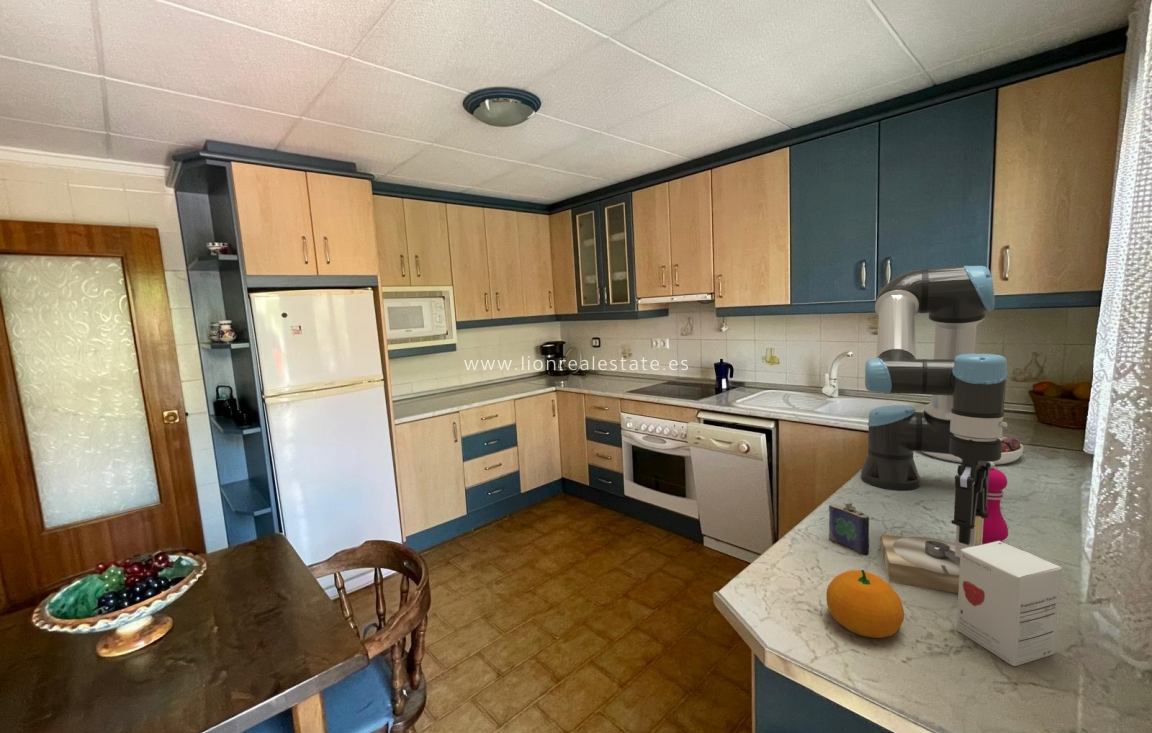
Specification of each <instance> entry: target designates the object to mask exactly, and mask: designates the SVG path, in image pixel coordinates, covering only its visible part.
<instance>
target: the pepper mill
mask: <svg viewBox="0 0 1152 733" xmlns="http://www.w3.org/2000/svg"><path fill="white" fill-rule="evenodd" d="M990 464H991V467H990V471H989V483H988V498H987V511H986V512H985V511H984V513H987V514H989V518H988V519H987V518H983V517H981V518H982V519H984V521H983V537H982V545H983V544H988V543H992V542H996V541H1001V542H1003V543H1005V542H1004V541H1005V540H1006V539H1007V538H1008V537H1009V527H1008V525H1007V523H1006V521H1005V519H1004V516H1003V514H1002V511H1001V500H1002V499H1004V493H1005V492H1004V491H1003V490H1004V489H1006V487H1007V485H1008V478H1007V476H1006V474H1005V473H1004V472H1002V471H1001V470H999V469H997V468H995V467H996V465H995V464H994V463H993V462H990Z"/></svg>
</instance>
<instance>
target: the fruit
mask: <svg viewBox="0 0 1152 733" xmlns="http://www.w3.org/2000/svg"><path fill="white" fill-rule="evenodd" d="M826 606H827V608H828V610H829V612H830V613H831V616H832V617H833V618H834V620H835V621H836V622H837V623H839V624H840V625H841V626H842V627H844V628H845V629H847V630H848V631H851V632H852V633H854V634H857V635H860V636H862V637H867V638H875V639H877V638H878V639H881V638H888V637H890V636H892V635H894V634H896V633H897V632H899V630H900V629H901V626H902V624H903V623H904V621H905V620H904V619H905V610H904V607H903V603H902V599H901V598H900V596H899V594H898V593H897V592H896V591H895V589H894V588H893V587H892V586H891V585H890V584H889V583H888V582H887V581H886V580H884V579H883V578H881V576H878V575H877V574H874V573H872V572H869V571H865V570H864V569H861V570H856V569H853V570H846V571H844V572H841V573H839V574H837V575H836V576H835V577H833V579H831V581H830V582H829V584H828V585H827V588H826Z"/></svg>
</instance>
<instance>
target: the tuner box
mask: <svg viewBox="0 0 1152 733" xmlns="http://www.w3.org/2000/svg"><path fill="white" fill-rule="evenodd" d="M927 541H937V542H941V543H944V544H946V545H948V546H949V547H950V550H952V551H954V552H955V549H956V543H954V542H951V541H946V540H943V539H938V538H934V537H925V536H901V535H893V534H886V533H880V545H879V546H880V553H881V558H882V562H883V564H884V565H883V566H884V568H885V571H886V574H887V578H888V582H889V583H891V582H892V583H897V584H902V585H909V586H915V587H920V588H927V589H932V590H937V591H942V592H949V593H955V594H958V593H959V572H960V563H959V562H957V561H955V560H953V559H951V558H947V559H940V558H935V557H932V556H930V555H928V554H927V553H926V552H925V543H926V542H927Z"/></svg>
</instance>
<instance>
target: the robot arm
mask: <svg viewBox="0 0 1152 733" xmlns="http://www.w3.org/2000/svg"><path fill="white" fill-rule="evenodd" d="M995 301H996V298H995V289H994V283H993V278H992V273H991V270H990V269H989V268H988V267H987V266H984V265H960V266H950V267H949V266H948V267H940V268H930V269H915V270H910V271H907V272H905V273H902V274H900V275H897V277H894V278H893V279H891V280H890V281H889V282H888V283H886V284H885V285H884V286H883V288H882V289H881V290H880V291H879V292H878V294H877V296H876V299H875V303H874V311H875V313H876V315H877V316H878V323H877V324H878V325H877V326H878V327H877V328H878V329H877V344H876V358H869V359H867V360H866V362H865V365H864V366H865V368H864V371H865V372H864V385H865V386H864V388H865V389H866V390H867V391H869V392H872V393H884V394H898V395H899V394H903V395H905V394H906V395H909V394H910V395H927V396H928V395H931V400H930V401H931V402H930V403H928V404H926V405H925V406H924V411H916V409H915V407H914V406H911V405H903V404H902V405H901V404H898V405H897V404H895V405H893V404H891V405H883V406H879V407H878V406H877V407H874V408H873V409H871V410H870V412H869V414H868V422H867V426H868V434H867V435H868V436H867V437H868V439H867V456H866V457H865V459H864V460H865V461H864V463H863V465H862V467H861V470H860V478H861V480H862V481H863V482H864V483H867V484H869V485H871V486H874V487H878V488H882V489H886V490H896V491H907V490H913V489H914V490H916V489H918V488H919V487H920V485H921V476H920V474H919V471H918V469H917V466H916V463H915V460H914V452H920V453H923V452H930V453H941V454H951V455H954V456H956V457H959V458H961V459H962V463H960V464H959V465H957V472H956V474H955V476H954V482H955V483H954V484H955V490H954V491H955V493H954V513H953V519H952V520H950V521H951V524H953V525H955V526H956V532H955V533H956V534H955V544H956V549H955V556H957V557H960V550H961V549H964V548H968V547H973V546H975V538H976V527H975V525H974V524H975V515H976V514H977V515H979V516H981V517H983V518H987V519H988V518H989V514H987V513H984V511H985V512H986V511H987V498H988V483H989V471H990V467H991V464H990V462H993V461H998V460H999V459H1001V453H1002V441H1001V440H1000V439H998V438H1000V437H1003V430H1004V429H1003V428H1007V427H1008V423H1007V422H1005V421H1003V420H1004V415H1005V414H1004V412H1005V402H1006V401H1005V398H1006V389H1007V388H1006V387H1007V378H1008V377H1009V372H1008V371H1007V370H1008V360H1007V359H1006V357H1005V356H1003V355H1000V354H994V353H975V352H976V351H975V349H976V348H975V347H976V336H977V328H978V324H979V323H981V322H982V321H984V320H985V318H986V312H988V313H989V312H991V311H994V309H995ZM917 314H928V321H930V322H931V323H932V324H934V326H935V327H934V343H933V344H934V345H933V359H929V358H927V359H926V358H924V359H922V358H917V350H916V348H917V347H916V324H915V323H916V322H915V321H916V320H915V317H916V315H917ZM983 521H984V519H982V518H981V533H980V545H982V537H983Z"/></svg>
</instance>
